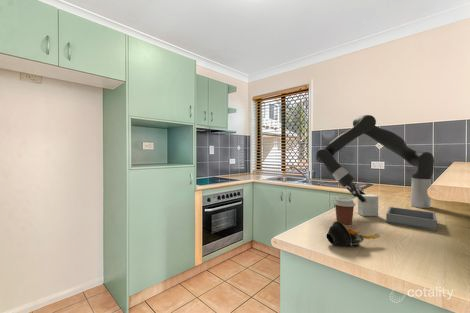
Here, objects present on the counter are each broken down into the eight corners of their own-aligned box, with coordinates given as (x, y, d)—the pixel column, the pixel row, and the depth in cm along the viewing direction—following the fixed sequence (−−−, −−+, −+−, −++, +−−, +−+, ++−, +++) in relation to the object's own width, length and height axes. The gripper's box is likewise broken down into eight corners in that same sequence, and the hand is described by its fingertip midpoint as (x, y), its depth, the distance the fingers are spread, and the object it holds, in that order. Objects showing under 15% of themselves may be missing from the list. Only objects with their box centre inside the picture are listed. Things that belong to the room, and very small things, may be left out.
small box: (373, 213, 122) (373, 194, 122) (378, 216, 117) (378, 196, 117) (357, 213, 123) (357, 194, 123) (362, 216, 117) (362, 195, 117)
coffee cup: (358, 228, 100) (358, 201, 99) (336, 227, 101) (336, 200, 101) (351, 222, 109) (352, 197, 108) (331, 220, 110) (331, 196, 110)
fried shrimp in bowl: (318, 228, 88) (355, 210, 91) (332, 256, 84) (370, 237, 88) (329, 226, 79) (370, 207, 83) (346, 258, 76) (387, 236, 80)
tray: (389, 215, 120) (389, 206, 119) (434, 221, 108) (434, 212, 108) (386, 222, 107) (386, 213, 107) (436, 231, 96) (437, 220, 96)
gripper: (345, 173, 120) (369, 198, 113) (351, 171, 131) (374, 193, 124) (334, 182, 123) (357, 206, 116) (341, 179, 134) (362, 202, 127)
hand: (366, 200), depth 120 cm, fingers closed on small box, 8 cm apart
